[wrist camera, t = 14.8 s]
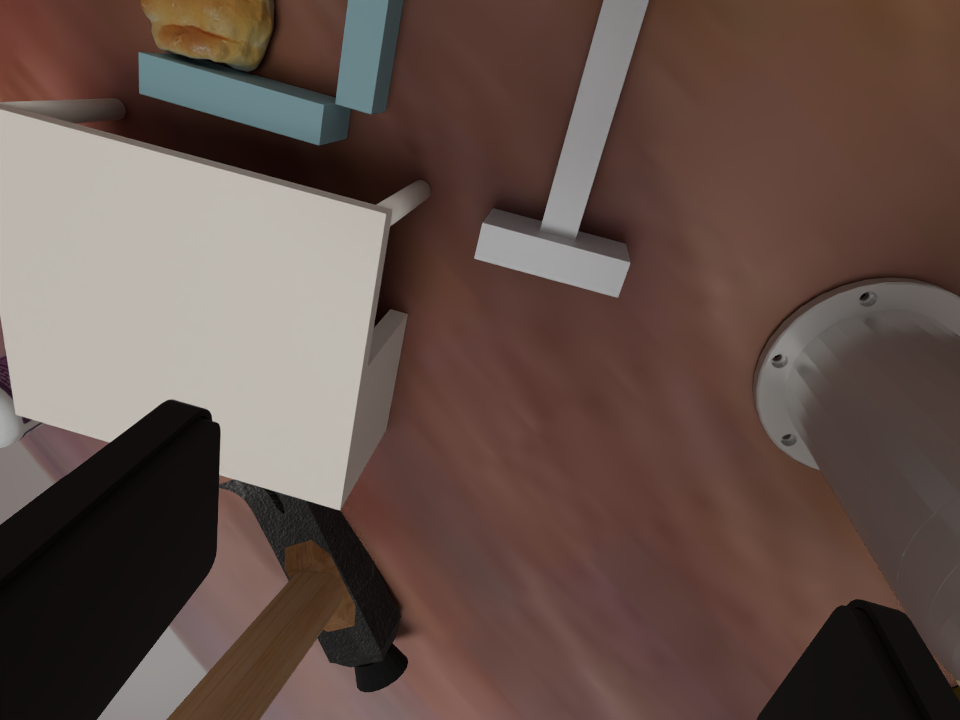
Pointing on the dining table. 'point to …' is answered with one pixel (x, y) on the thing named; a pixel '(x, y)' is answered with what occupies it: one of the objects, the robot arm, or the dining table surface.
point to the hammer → (303, 612)
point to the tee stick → (575, 175)
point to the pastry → (213, 29)
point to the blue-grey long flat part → (282, 104)
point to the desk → (194, 298)
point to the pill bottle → (11, 411)
